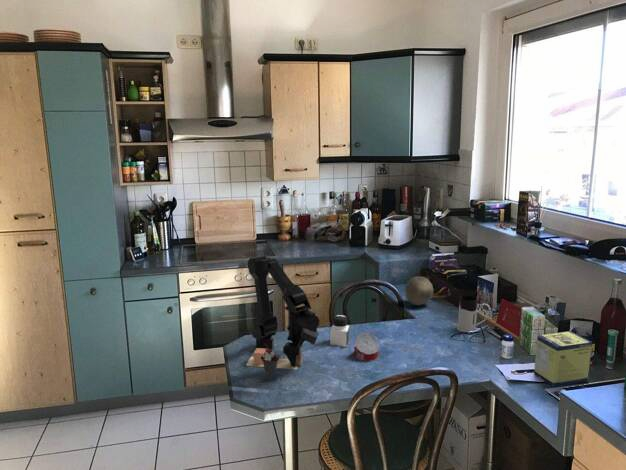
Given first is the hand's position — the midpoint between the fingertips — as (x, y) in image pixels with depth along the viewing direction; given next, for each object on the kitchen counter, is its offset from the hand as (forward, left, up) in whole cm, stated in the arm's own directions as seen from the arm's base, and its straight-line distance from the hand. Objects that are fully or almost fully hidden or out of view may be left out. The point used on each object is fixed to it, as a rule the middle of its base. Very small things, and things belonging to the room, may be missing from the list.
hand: (296, 361), depth 198 cm
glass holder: (+72, +49, -3) cm, 87 cm away
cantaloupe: (+49, +79, -3) cm, 93 cm away
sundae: (-7, -14, -3) cm, 16 cm away
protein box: (+98, +8, -3) cm, 98 cm away
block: (-14, 0, -1) cm, 14 cm away
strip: (-9, 0, -2) cm, 9 cm away
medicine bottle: (+14, +25, -3) cm, 29 cm away
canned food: (+26, +15, -3) cm, 30 cm away
